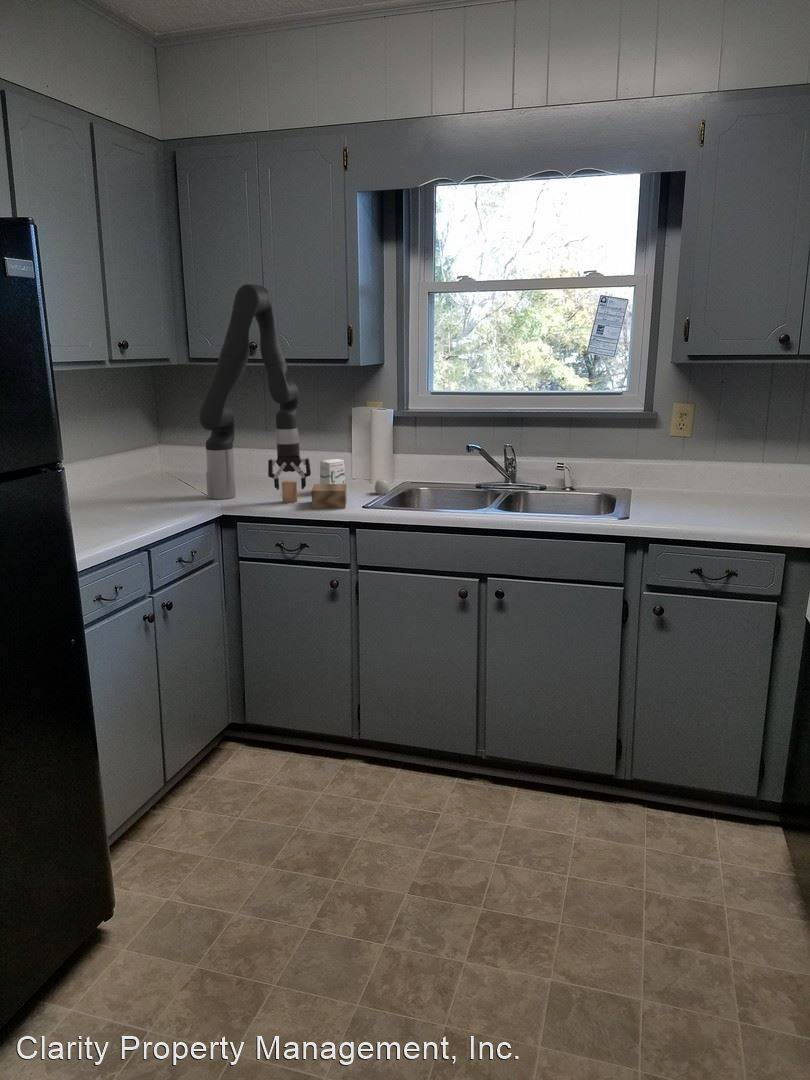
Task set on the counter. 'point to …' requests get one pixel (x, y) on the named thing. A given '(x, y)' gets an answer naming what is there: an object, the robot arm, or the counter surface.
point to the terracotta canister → (289, 491)
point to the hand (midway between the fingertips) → (290, 489)
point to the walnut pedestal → (328, 496)
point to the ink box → (332, 471)
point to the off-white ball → (381, 487)
